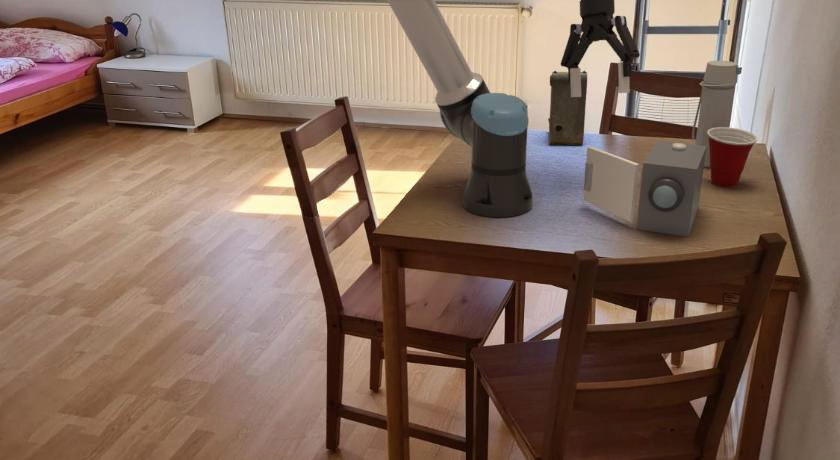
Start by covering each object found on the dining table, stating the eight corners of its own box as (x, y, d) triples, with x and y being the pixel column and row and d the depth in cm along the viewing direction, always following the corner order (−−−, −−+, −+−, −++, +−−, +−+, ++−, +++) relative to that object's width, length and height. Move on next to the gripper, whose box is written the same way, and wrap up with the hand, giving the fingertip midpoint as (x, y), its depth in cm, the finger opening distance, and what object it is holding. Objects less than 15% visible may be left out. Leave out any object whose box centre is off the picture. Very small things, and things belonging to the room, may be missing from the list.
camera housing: (686, 241, 151) (695, 169, 145) (632, 233, 155) (639, 162, 149) (698, 208, 166) (707, 142, 161) (648, 202, 170) (656, 137, 165)
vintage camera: (579, 132, 223) (582, 62, 215) (584, 146, 208) (588, 71, 201) (545, 132, 224) (547, 62, 216) (548, 146, 209) (550, 72, 202)
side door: (633, 220, 157) (639, 164, 152) (626, 222, 156) (631, 165, 152) (587, 199, 168) (591, 146, 164) (579, 201, 167) (583, 147, 163)
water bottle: (730, 165, 193) (745, 63, 183) (710, 171, 189) (724, 68, 179) (699, 155, 200) (712, 57, 190) (679, 161, 196) (691, 61, 186)
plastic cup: (730, 194, 174) (738, 143, 169) (690, 181, 182) (697, 132, 177) (760, 185, 179) (768, 134, 175) (720, 172, 188) (727, 124, 183)
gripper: (655, -12, 165) (656, 90, 167) (565, 7, 184) (568, 98, 187) (632, -14, 160) (635, 91, 163) (543, 5, 180) (546, 99, 182)
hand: (599, 95), depth 175 cm, fingers open, 13 cm apart
